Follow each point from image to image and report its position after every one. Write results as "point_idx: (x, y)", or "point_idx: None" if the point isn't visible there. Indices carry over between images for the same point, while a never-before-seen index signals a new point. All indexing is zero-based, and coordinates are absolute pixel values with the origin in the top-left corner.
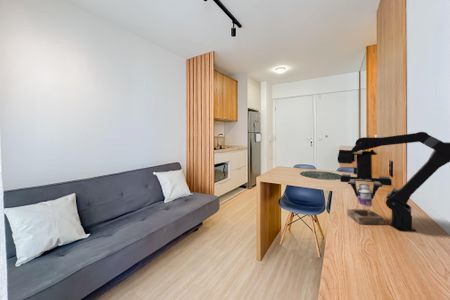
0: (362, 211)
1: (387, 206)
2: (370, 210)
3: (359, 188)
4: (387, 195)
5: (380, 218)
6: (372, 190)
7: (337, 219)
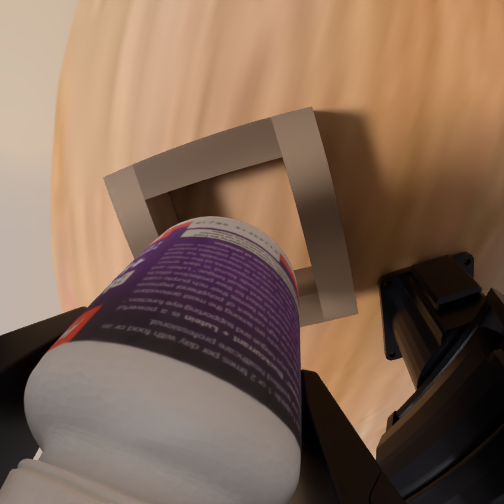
0: (233, 170)
1: (381, 438)
2: (317, 142)
3: (39, 439)
4: (449, 485)
5: (333, 315)
6: (320, 495)
7: (78, 271)
